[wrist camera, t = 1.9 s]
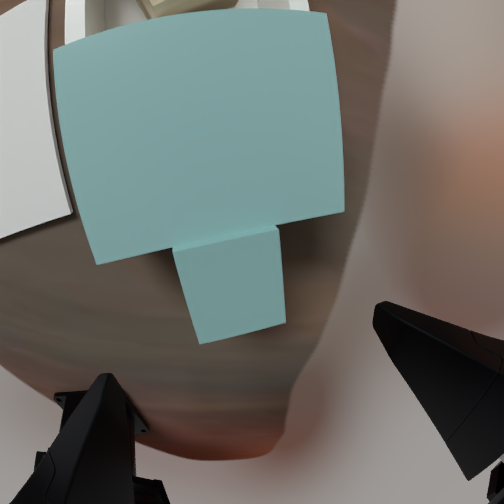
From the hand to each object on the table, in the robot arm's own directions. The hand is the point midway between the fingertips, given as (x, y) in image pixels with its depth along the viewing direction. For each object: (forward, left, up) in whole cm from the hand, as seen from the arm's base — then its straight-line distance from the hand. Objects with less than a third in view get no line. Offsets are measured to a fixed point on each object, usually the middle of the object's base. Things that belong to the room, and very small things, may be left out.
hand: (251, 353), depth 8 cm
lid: (+5, 0, -4) cm, 6 cm away
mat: (+10, +13, -8) cm, 18 cm away
